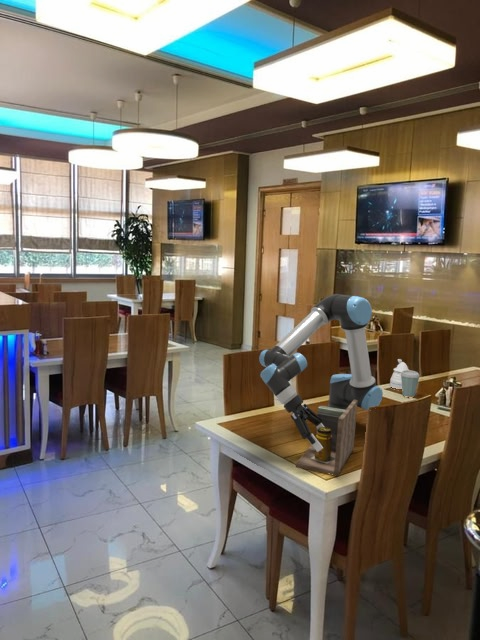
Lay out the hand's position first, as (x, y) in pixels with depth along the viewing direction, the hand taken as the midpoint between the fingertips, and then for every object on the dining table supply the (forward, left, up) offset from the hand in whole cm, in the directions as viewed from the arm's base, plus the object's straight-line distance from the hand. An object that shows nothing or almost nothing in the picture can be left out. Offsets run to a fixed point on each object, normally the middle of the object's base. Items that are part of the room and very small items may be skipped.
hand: (324, 444), depth 190 cm
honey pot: (-99, -97, -8) cm, 139 cm away
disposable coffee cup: (-92, -79, -8) cm, 121 cm away
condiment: (-1, -1, -6) cm, 7 cm away
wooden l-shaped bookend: (-3, -4, -8) cm, 9 cm away
